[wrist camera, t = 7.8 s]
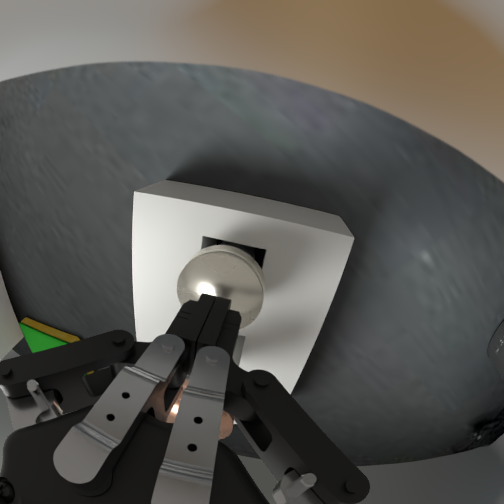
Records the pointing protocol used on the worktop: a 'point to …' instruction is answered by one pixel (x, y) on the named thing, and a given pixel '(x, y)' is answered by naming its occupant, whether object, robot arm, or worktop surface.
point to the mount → (273, 267)
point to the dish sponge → (44, 336)
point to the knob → (225, 278)
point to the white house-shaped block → (7, 323)
